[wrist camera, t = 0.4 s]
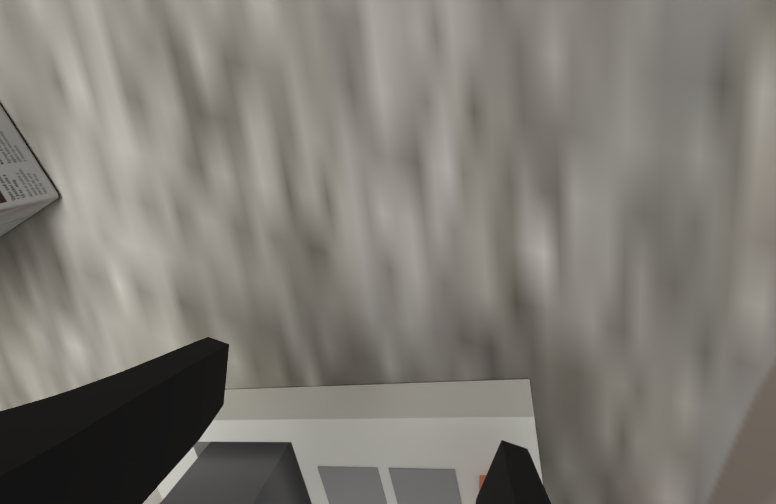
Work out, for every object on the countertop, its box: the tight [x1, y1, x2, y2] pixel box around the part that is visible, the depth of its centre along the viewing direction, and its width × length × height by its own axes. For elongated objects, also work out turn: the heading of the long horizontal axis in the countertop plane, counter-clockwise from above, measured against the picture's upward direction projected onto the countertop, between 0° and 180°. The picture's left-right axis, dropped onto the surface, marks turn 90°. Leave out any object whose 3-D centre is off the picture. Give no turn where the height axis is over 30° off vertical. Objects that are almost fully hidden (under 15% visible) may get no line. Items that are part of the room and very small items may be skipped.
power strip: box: [157, 379, 543, 504], centre depth 23 cm, size 9×22×3 cm, turn 103°
